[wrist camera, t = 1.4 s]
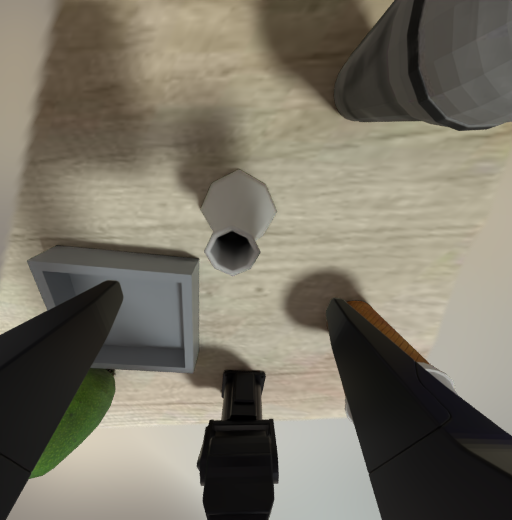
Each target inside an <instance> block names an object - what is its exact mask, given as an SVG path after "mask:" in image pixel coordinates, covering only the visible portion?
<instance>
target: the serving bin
mask: <svg viewBox="0 0 512 520" xmlns="http://www.w3.org/2000/svg"><path fill="white" fill-rule="evenodd" d="M27 262H28V265H29V267H30V270H31V272H32V275H33V277H34V279H35V282H36V284H37V287H38V289H39V291H40V294H41V296H42V299H43V301H44V303H45V306H46V308H47V311H48V310H50V309H52V308H54V307H55V306H57V305H59V304H61V303H63V302H65V301H67V300H69V299H71V298H73V297H75V296H77V295H79V294H81V293H83V292H85V291H86V290H88V289H90V288H92V287H94V286H96V285H98V284H100V283H102V282H104V281H106V280H116V281H119V283H120V285H121V289H122V292H123V297H124V298H123V302H122V304H121V307H120V309H119V312H118V314H117V316H116V319H115V321H114V323H113V326H112V328H111V330H110V333H109V335H108V337H107V339H106V341H105V342H104V344H103V346H102V348H101V350H100V351H99V353H98V355H97V357H96V358H95V360H94V362H93V364H92V366H91V367H90V368H102V369H121V370H140V371H158V372H177V373H194V369H195V365H196V361H197V357H198V353H199V259H196V258H185V257H175V256H164V255H154V254H143V253H133V252H122V251H111V250H101V249H90V248H80V247H69V246H58V245H56V246H55V247H53V248H51V249H49V250H47V251H45V252H43V253H41V254H39V255H37V256H35V257H33V258H31V259H29V260H27Z"/></svg>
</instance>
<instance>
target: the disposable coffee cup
mask: <svg viewBox="0 0 512 520" xmlns="http://www.w3.org/2000/svg"><path fill="white" fill-rule="evenodd" d="M347 303H348V304H349V305H350V306H352V307H353V308H354V309H355V310H356V311H357V312H359V313H360V314H361V315H362V316H363V317H364V318H366V319H367V320H368V321H369V322H370V323H371V324H373V325H374V326H375V327H376V328H377V329H379V330H380V331H381V332H382V333H383V334H384V335H386V336H387V337H388V338H389V339H390V340H391V341H393V342H394V343H395V344H396V345H397V346H399V347H400V348H401V349H402V350H403V351H404V352H406V353H407V354H408V355H409V356H410V357H411V358H413V359H414V361H416V362H417V363H419V364H420V365H421V366H422V367H423V368H424V369H426V370H427V371H428V372H429V373H430V374H432V375H433V376H434V377H435V378H437V379H438V380H439V381H440V382H441V383H443V384H444V385H445V386H447V387H448V388H449V389H450V390H452V391H453V392H454V393H455V394H457V393H456V391H455V385H454V382H453V381H452V379H451V378H450V377H449V376H448V375H447V374H445V373H444V372H442V371H440V370H438V369H437V368H435V367H434V366H432V365H430V364H429V363H428V362H427V361H426V360H425V359H424V358H423V357H422V356H421V355H420V354H419V353H418V352H417V351H416V350H415V349H414V348H413V347H412V346H411V345H410V344H409V343H408V342H407V341H406V340H405V339H404V338H403V337H402V336H401V335H399V333H397V332H396V331H395V329H393V328H392V327H391V326H390V325H389V324H388V323H387V322H386V321H385V320H384V319H383V318H382V317H381V316H380V315H379V314H378V313H377V312H376V311H375V310H374V309H373V308H372V307H371V306H370V305H369V304H367V303H365V302H362V301H348V302H347ZM327 327H328V324H327ZM328 331H329V330H328ZM343 389H344V388H343ZM344 393H345V391H344ZM345 403H346V404H345V411H346V415H347V417H348V419H349V420H350V421H351V422H352V423H353V424H354V422H353V419H352V415H351V412H350V409H349V405H348V402H347V398H346V395H345Z"/></svg>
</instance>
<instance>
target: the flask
mask: <svg viewBox="0 0 512 520" xmlns="http://www.w3.org/2000/svg"><path fill="white" fill-rule="evenodd" d="M200 210H201V211H202V213H203V215H204V217H205V218H206V220H207V222H208V223H209V225H210V227H211V229H212V230H213V233H212V235H211V238H210V240H209V242H208V244H207V246H206V248H205V250H204V253H205V254H206V256H207V257H208V259H209V260H210V262H211V264H212V265H213V267H214V268H215V269H217V270H220V271H222V272H224V273H226V274H229V275H231V276H235V275H237V274H239V273H242V272H244V271H247V270H249V269H251V267H252V266H253V264H254V262H255V261H256V259H257V258H258V256H259V254H260V250H259V248H258V246H257V243H256V240H257V239H259V238H260V237H262V236H263V235H264V233H265V231H266V230H267V228H268V226H269V225H270V223H271V221H272V220H273V218H274V216H275V215H276V213H277V210H276V207H275V205H274V203H273V200H272V198H271V195H270V193H269V191H268V188H267V186H266V184H264V183H262V182H261V181H259V180H257V179H255V178H254V177H252V176H250V175H248V174H247V173H245V172H243V171H241V170H240V169H238V170H236V171H234V172H232V173H230V174H228V175H226V176H224V177H222V178H220V179H219V180H217V181H215V182H213V183H212V184H211V186H210V188H209V191H208V193H207V195H206V198H205V200H204V202H203V205H202V207H201V209H200Z"/></svg>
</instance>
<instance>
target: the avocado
mask: <svg viewBox="0 0 512 520" xmlns="http://www.w3.org/2000/svg"><path fill="white" fill-rule="evenodd" d="M114 394H115V379H114V377H113V376H112V374H111V373H110V372H109V371H108V370H106V369H102V368H90V369H89V371H88V373H87V375H86V376H85V378H84V380H83V382H82V384H81V385H80V387H79V389H78V391H77V393H76V394H75V396H74V398H73V400H72V402H71V403H70V405H69V407H68V409H67V411H66V412H65V414H64V416H63V418H62V420H61V421H60V423H59V425H58V427H57V428H56V430H55V432H54V434H53V436H52V437H51V439H50V441H49V443H48V445H47V446H46V448H45V450H44V452H43V454H42V455H41V457H40V459H39V461H38V463H37V464H36V466H35V468H34V470H33V471H32V472H31V476H30V477H29V479H31V478H35V477H39V476H43V475H44V474H46V473H47V472H49V471H50V470H52V469H53V468H55V467H56V466H57V465H58V464H59V463H60V462H61V461H62V460H63V459H64V458H66V457H67V456H68V455H69V454H70V453H71V452H72V451H73V450H74V449H76V448H77V447H78V446H79V445H80V444H81V443H82V442H83V441H84V440H85V439H86V438H87V437H88V436H89V435H90V434H91V433H92V432H93V430H94V429H95V428H96V427H97V426H98V425H99V423H100V422H101V420H102V419H103V417H104V416H105V414H106V412H107V411H108V409H109V407H110V406H111V403H112V400H113V397H114Z"/></svg>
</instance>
